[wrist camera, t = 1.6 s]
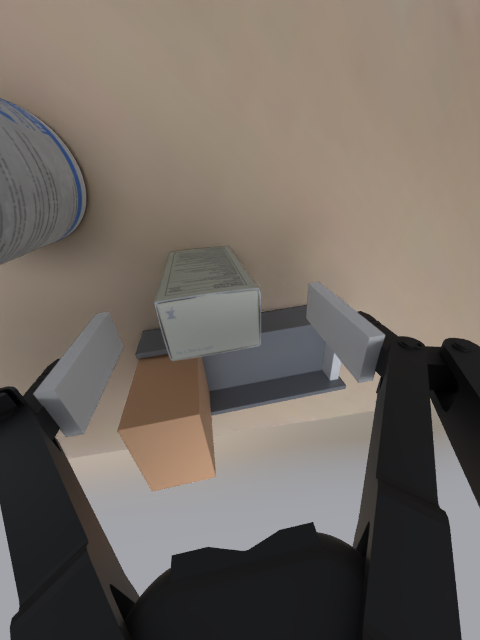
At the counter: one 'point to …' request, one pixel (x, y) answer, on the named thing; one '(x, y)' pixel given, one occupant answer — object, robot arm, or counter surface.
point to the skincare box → (207, 304)
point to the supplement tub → (35, 184)
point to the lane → (265, 364)
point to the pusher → (169, 422)
